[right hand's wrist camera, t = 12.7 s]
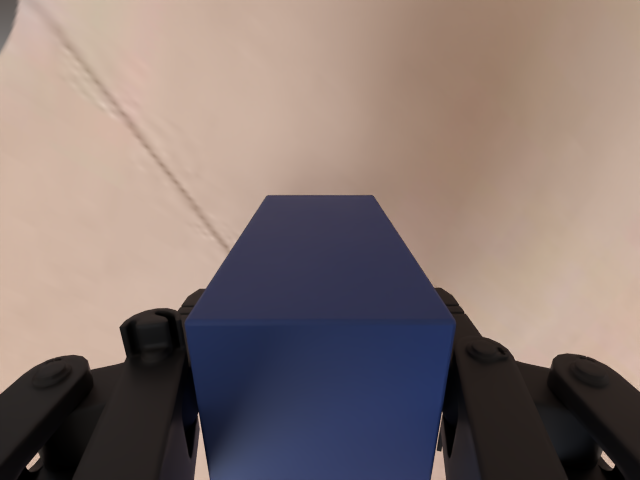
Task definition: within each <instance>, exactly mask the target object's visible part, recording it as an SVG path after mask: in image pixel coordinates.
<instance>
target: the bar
mask: <svg viewBox="0 0 640 480" xmlns="http://www.w3.org/2000/svg"><path fill="white" fill-rule="evenodd" d="M455 329H456V321H455V319H454V317H453V316H452V314H451V313H450V311H449V310H448V308H447V307H446V305H445V304H444V302H443V301H442V299H441V298H440V296H439V295H438V293H437V291H436V290H435V288H434V287H433V285H432V284H431V282H430V281H429V279H428V278H427V276H426V275H425V273H424V272H423V270H422V269H421V267H420V266H419V264H418V263H417V261H416V260H415V258H414V257H413V255H412V254H411V252H410V251H409V249H408V248H407V246H406V245H405V243H404V241H403V240H402V238H401V237H400V235H399V234H398V232H397V231H396V229H395V228H394V226H393V225H392V223H391V222H390V220H389V219H388V217H387V216H386V214H385V213H384V211H383V210H382V208H381V207H380V205H379V204H378V202H377V201H376V199H375V198H374V196H372V195H268V196H266V198H265V199H264V201H263V202H262V204H261V205H260V207H259V208H258V210H257V211H256V213H255V214H254V216H253V217H252V219H251V220H250V222H249V224H248V225H247V227H246V228H245V230H244V231H243V233H242V234H241V236H240V237H239V239H238V240H237V242H236V243H235V245H234V246H233V248H232V250H231V251H230V253H229V254H228V256H227V257H226V259H225V260H224V262H223V263H222V265H221V266H220V268H219V269H218V271H217V273H216V274H215V276H214V277H213V279H212V280H211V282H210V283H209V285H208V286H207V288H206V289H205V291H204V292H203V294H202V295H201V297H200V299H199V300H198V302H197V303H196V305H195V306H194V308H193V309H192V311H191V312H190V314H189V315H188V317H187V318H186V320H185V331H186V337H187V343H188V349H189V355H190V361H191V367H192V373H193V379H194V385H195V392H196V398H197V404H198V410H199V416H200V422H201V428H202V434H203V440H204V446H205V453H206V459H207V465H208V471H209V477H210V480H431V474H432V468H433V462H434V456H435V450H436V444H437V438H438V432H439V426H440V420H441V414H442V408H443V402H444V395H445V389H446V383H447V377H448V371H449V365H450V359H451V353H452V347H453V341H454V335H455Z"/></svg>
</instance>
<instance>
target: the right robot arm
mask: <svg viewBox="0 0 640 480" xmlns="http://www.w3.org/2000/svg"><path fill="white" fill-rule="evenodd" d="M435 290H436V291H437V293H438V295H439V296H440V298H441V299H442V301H443V302H444V304H445V305H446V307H447V308H448V310H449V311H450V313H451V314H452V316H453V317H454V319H455V321H456V329H455V335H454V341H453V347H452V353H451V359H450V365H449V371H448V377H447V383H446V389H445V395H444V402H443V408H442V412H443V415H442V421H441V427H440V433H439V439H438V445H437V451H441V450H442V447H443V456H444V464H445V473H446V480H640V392H639V391H638V390H637V389H636V388H635V387H633V386H632V385H631V384H630V383H629V382H628V381H626V380H625V379H624V378H623V377H622V376H621V375H619V374H618V373H617V372H616V371H614V370H613V369H611V368H610V367H608V366H607V365H605V364H603V363H601V362H599V361H596V360H595V359H593V358H590V357H586V356H582V355H577V354H568V353H567V354H561V355H557V356H556V357H555V358H554V359H553V361H552V364H551V368H545V367H540V366H536V365H531V364H526V363H522V362H518V361H515V359H514V357H513V355H512V354H511V353H510V351H509V350H508V349H507V348H505V347H504V346H503V345H501V344H500V343H498V342H496V341H493V340H491V339H489V338H485V337H482V336H481V334H480V333H479V331H478V330H477V329H476V327H475V326H474V325H473V323H472V322H471V320H470V319H469V318H468V316H467V315H466V314H464V311H463V309H462V308H461V307H460V306H459V304H458V303H457V301H456V300H455V298H454V297H453V296H452V295H451V294H449V293H448V292H446V291H445V290H443V289H442V288H435ZM204 291H205V289H199V290H197V291H196V292H194V293H193V294H191V295H190V296H188V297H187V299H186V300H185V302H184V303H183V304H182V307H180V308H179V310H178V311H176V310H173V309H168V308H157V309H152V310H147V311H144V312H141V313H138V314H136V315H134V316H132V317H130V318H129V319H127V320H126V321H125V322H124V323H123V324H122V325H121V326H120V327H119V328H120V332H121V336H122V340H123V344H124V348H125V352H126V356H127V358H126V360H125V362H124V363H120V364H116V365H112V366H107V367H102V368H97V369H93V370H90V367H89V363H88V360H86V359H85V358H84V357H83V356H77V355H68V356H61V357H56V358H53V359H50V360H47V361H45V362H43V363H41V364H39V365H37V366H35V367H33V368H32V369H30V370H29V371H28V372H26V373H25V374H23V375H22V376H21V377H20V378H19V379H17V380H16V381H15V382H14V383H13V384H12V385H11V386H9V387H8V388H7V389H6V390H5V391H4V392H3V393H1V394H0V480H194V474H195V465H196V457H197V448H198V439H199V430H200V428H199V421H198V412H199V410H198V404H197V398H196V392H195V385H194V379H193V373H192V367H191V361H190V355H189V349H188V343H187V337H186V331H185V320H186V318H187V317H188V315H189V314H190V312H191V311H192V309H193V308H194V306H195V305H196V303H197V302H198V300H199V299H200V297H201V295H202V294H203V292H204ZM602 451H604V452H605V453H606V454H607V456H608V457H609V458H610V459H611V460H612V461H613V463H614V464H615V467H614V468H613V469H612V468H611V467H610V466H609V465H608V464H607V463H606V462H605V461H604V460H603V458H602V457H601V454H602ZM37 453H39V455H40V458H39V460H38V461H37V462H36V463H35V464H34V465H33V466H32V467H31V468H30V469H29V470H27V468H26V466H27V464H28V463H29V462H30V461H31V460H32V458H33V457H34V456H35V455H36V454H37Z"/></svg>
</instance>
